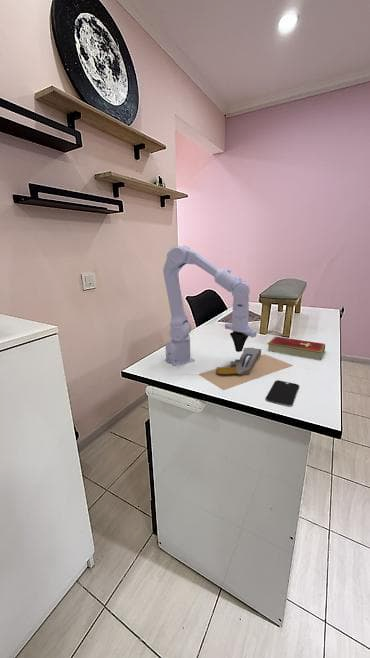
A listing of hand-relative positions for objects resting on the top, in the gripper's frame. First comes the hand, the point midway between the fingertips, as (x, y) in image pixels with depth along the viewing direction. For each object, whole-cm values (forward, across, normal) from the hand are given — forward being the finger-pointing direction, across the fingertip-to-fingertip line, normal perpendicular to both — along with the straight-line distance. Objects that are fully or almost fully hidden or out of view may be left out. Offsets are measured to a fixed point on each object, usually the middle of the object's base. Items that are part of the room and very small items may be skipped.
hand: (239, 351), depth 104 cm
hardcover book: (+7, -2, -31) cm, 32 cm away
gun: (+4, +4, 0) cm, 6 cm away
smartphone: (+6, -23, +3) cm, 24 cm away
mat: (+6, -4, 0) cm, 8 cm away
